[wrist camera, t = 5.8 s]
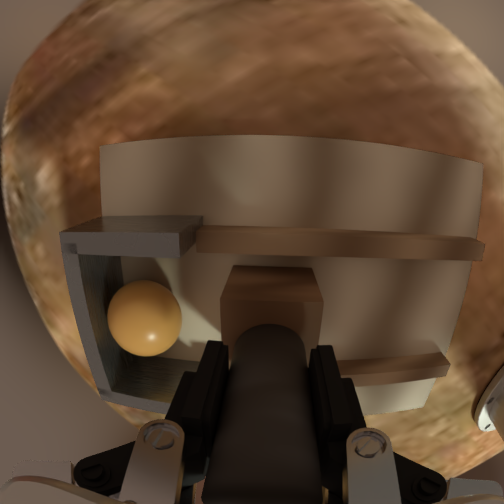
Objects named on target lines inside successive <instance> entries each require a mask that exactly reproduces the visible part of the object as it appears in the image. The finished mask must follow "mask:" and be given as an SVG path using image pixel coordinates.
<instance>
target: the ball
mask: <svg viewBox="0 0 504 504" xmlns="http://www.w3.org/2000/svg"><path fill="white" fill-rule="evenodd" d="M107 319H108V326H109V329H110V332H111V334H112V336H113V338H114V339H115V341H116V342H117V343H118V344H119V345H120V346H121V347H122V348H123V349H125V350H126V351H128V352H130V353H132V354H135V355H138V356H154V355H158V354H160V353H163V352H164V351H166V350H167V349H169V348H170V347H171V346H172V345H173V344H174V343H175V341H176V340H177V338H178V336H179V334H180V331H181V327H182V312H181V308H180V305H179V303H178V301H177V299H176V298H175V296H174V295H173V294H172V293H171V292H170V291H169V290H168V289H167V288H166V287H164V286H163V285H161V284H159V283H157V282H153V281H149V280H138V281H133V282H130V283H128V284H126V285H124V286H123V287H121V288H120V289H119V290H118V291H117V292H116V293H115V295H114V296H113V298H112V299H111V302H110V304H109V308H108V314H107Z"/></svg>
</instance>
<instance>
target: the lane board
mask: <svg viewBox="0 0 504 504" xmlns="http://www.w3.org/2000/svg"><path fill="white" fill-rule="evenodd" d="M482 184H483V163H479V162H475V161H471V160H467V159H462V158H458V157H454V156H449V155H444V154H439V153H434V152H429V151H424V150H418V149H413V148H407V147H400V146H394V145H387V144H379V143H372V142H363V141H354V140H344V139H333V138H320V137H304V136H281V135H214V136H191V137H175V138H162V139H151V140H141V141H132V142H124V143H116V144H109V145H102V146H100V187H101V205H102V216H140V215H203V226H202V227H200V228H199V229H198V230H197V231H196V243H195V244H194V245H193V246H192V247H191V248H190V249H189V250H188V251H187V252H186V253H185V254H184V255H183V256H182V257H181V258H180V259H179V258H154V257H130V256H120V257H121V265H122V273H123V280H124V285H126V284H128V283H130V282H133V281H138V280H149V281H153V282H157V283H159V284H161V285H163V286H164V287H166V288H167V289H168V290H169V291H170V292H171V293H172V294H173V295H174V296H175V298H176V299H177V301H178V303H179V305H180V308H181V312H182V327H181V331H180V334H179V336H178V338H177V340H176V341H175V343H174V344H173V345H172V346H171V347H170V348H169V349H167V350H166V351H164V352H163V353H160V354H158V355H154V356H158V357H165V358H173V359H181V360H190V361H199V362H200V360H201V358H202V355H203V352H204V349H205V347H206V344H207V341H208V340H215V341H221V318H220V297H221V294H222V292H223V289H224V287H225V284H226V282H227V279H228V277H229V274H230V272H231V269H232V267H233V265H242V266H272V267H305V268H312V269H313V272H314V275H315V278H316V281H317V283H318V286H319V289H320V292H321V295H322V298H323V301H324V307H323V315H322V322H321V330H320V337H319V344H318V345H332V347H333V350H334V354H335V357H336V361H337V364H338V368H339V372H340V375H341V378H351V379H352V381H353V383H354V387H355V390H356V393H357V396H358V400H359V403H360V406H361V410H362V413H363V416H364V415H373V414H382V413H390V412H397V411H403V410H409V409H415V408H421V407H423V406H424V404H425V402H426V400H427V398H428V395H429V393H430V391H431V389H432V387H433V384H434V382H435V380H436V378H437V377H443V376H446V374H447V372H448V370H449V367H450V365H451V364H450V363H449V361H448V360H447V359H446V357H445V355H446V352H447V350H448V347H449V344H450V341H451V338H452V335H453V332H454V329H455V326H456V323H457V320H458V317H459V313H460V310H461V306H462V303H463V299H464V295H465V292H466V288H467V283H468V279H469V275H470V270H471V266H472V261H482V258H483V253H484V248H485V244H484V243H482V242H480V241H478V240H476V238H477V232H478V225H479V217H480V208H481V197H482Z"/></svg>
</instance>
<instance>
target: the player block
mask: <svg viewBox="0 0 504 504" xmlns="http://www.w3.org/2000/svg"><path fill="white" fill-rule="evenodd" d="M323 307H324V301H323V298H322V295H321V292H320V289H319V286H318V283H317V281H316V278H315V275H314V272H313V269H312V268H305V267H272V266H242V265H233V267H232V269H231V272H230V274H229V277H228V279H227V282H226V284H225V287H224V289H223V292H222V294H221V297H220V318H221V341H223V345H228V350H229V373H228V378H227V383H226V387H225V392H224V396H223V401H222V405H221V410H220V415H219V419H218V424H217V428H216V433H215V437H214V442H213V446H212V451H211V455H210V460H209V464H208V469H207V473H206V478H205V482H204V487H203V492H202V496H201V498H202V502H203V503H204V504H322V503H323V494H322V483H321V472H320V463H319V453H318V444H317V435H316V427H315V418H314V410H313V402H312V395H311V387H310V380H309V372H308V366H309V359H310V353H311V349H316V347H317V345H318V344H319V337H320V330H321V322H322V315H323Z"/></svg>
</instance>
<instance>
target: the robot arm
mask: <svg viewBox="0 0 504 504" xmlns="http://www.w3.org/2000/svg"><path fill="white" fill-rule="evenodd" d="M308 372H309V380H310V387H311V395H312V402H313V410H314V418H315V427H316V435H317V444H318V453H319V463H320V472H321V483H322V486H323V487H325V488H326V489H325V504H504V497H503V491H502V488H501V486H500V484H498V483H497V482H495V481H486V480H471V479H458V478H450V479H449V480H445V479H444V477H443V476H442V475H441V474H439V473H437V472H435V471H433V470H431V469H429V468H426V467H424V466H422V465H420V464H418V463H415V462H413V461H411V460H409V459H407V458H405V457H403V456H401V455H399V454H397V453H395V452H393V450H392V444H391V441H390V439H389V437H388V436H387V435H386V434H385V433H384V432H382V431H381V430H378V429H375V428H367V427H366V423H365V420H364V416H363V413H362V410H361V406H360V403H359V400H358V396H357V393H356V390H355V387H354V383H353V381H352V379H351V378H341V375H340V372H339V368H338V364H337V361H336V357H335V354H334V350H333V347H332V345H317V347H316V349H311V353H310V359H309V366H308ZM228 373H229V350H228V345H223V341H215V340H208V341H207V344H206V347H205V349H204V352H203V355H202V358H201V360H200V363H199V366H198V369H197V371H196V372H192V371H185V372H184V373H183V375H182V378H181V380H180V382H179V385H178V387H177V390H176V392H175V395H174V397H173V399H172V402H171V404H170V407H169V409H168V412H167V414H166V417H165V419H157V420H152V421H150V422H148V423H146V424H144V425H143V426H142V427H141V428H140V430H139V432H138V435H137V438H136V441H133V442H130V443H128V444H125V445H122V446H119V447H117V448H114V449H111V450H108V451H105V452H102V453H99V454H96V455H92V456H89V457H86V458H84V459H82V460H80V461H79V462H78V463H77V464H72V463H71V461H30V460H25V461H21V462H19V463H17V465H16V466H15V467H14V469H13V475H12V479H10V480H8V481H7V482H6V483H5V484H4V485H2V487H1V488H0V504H195V494H196V483H197V482H199V481H201V480H203V479H204V478H205V476H206V473H207V469H208V464H209V460H210V455H211V451H212V446H213V442H214V437H215V433H216V428H217V424H218V419H219V415H220V410H221V405H222V401H223V396H224V392H225V387H226V383H227V378H228ZM474 420H475V423H476V425H477V426H478V428H479V429H480V430H481V431H492V430H495V429H496V430H497V431H498V433H499V435H500V436H501V438H502V440H503V441H504V366H503V367H502V368H501V369H500V370H499V372H498V373H497V374H496V376H495V377H494V378H493V380H492V381H491V383H490V384H489V385H488V387H487V388H486V390H485V392H484V393H483V395H482V397H481V399H480V401H479V403H478V405H477V408H476V412H475V418H474Z"/></svg>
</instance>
